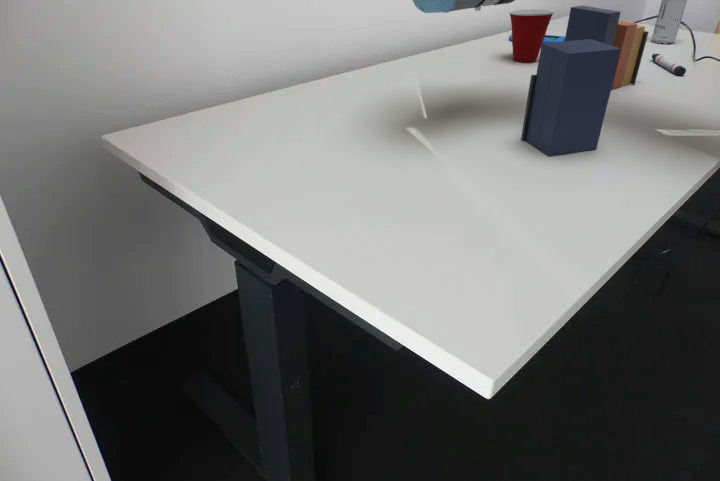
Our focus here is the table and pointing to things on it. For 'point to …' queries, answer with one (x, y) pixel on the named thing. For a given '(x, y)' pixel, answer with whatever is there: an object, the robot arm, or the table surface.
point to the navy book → (592, 24)
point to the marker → (669, 64)
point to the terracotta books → (628, 52)
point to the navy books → (569, 96)
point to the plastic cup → (528, 32)
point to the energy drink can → (668, 21)
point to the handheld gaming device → (549, 38)
